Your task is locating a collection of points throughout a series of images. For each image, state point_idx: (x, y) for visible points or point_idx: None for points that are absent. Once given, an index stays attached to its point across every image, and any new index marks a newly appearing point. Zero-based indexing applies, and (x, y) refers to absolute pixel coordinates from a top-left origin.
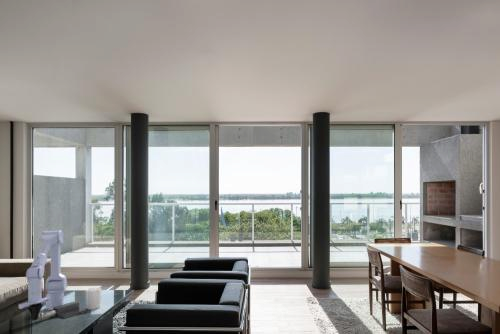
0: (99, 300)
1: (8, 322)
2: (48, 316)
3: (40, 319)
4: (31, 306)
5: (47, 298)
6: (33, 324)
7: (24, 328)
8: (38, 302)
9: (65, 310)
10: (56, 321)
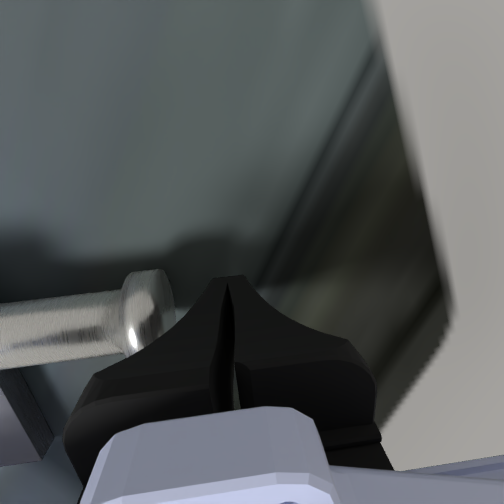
0: None
1: None
2: (66, 296)
3: (168, 291)
4: (360, 440)
5: None
6: (264, 237)
7: (386, 180)
8: (272, 434)
9: None
10: (27, 78)
